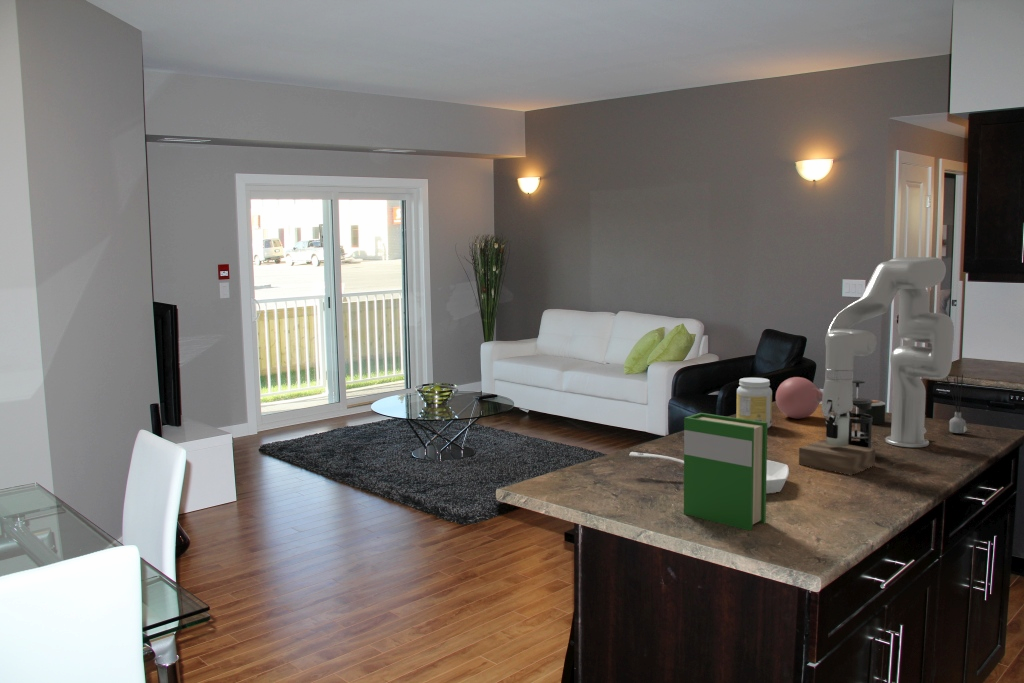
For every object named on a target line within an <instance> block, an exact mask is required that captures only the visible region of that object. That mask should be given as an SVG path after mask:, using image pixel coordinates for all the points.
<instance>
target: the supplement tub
mask: <svg viewBox="0 0 1024 683" xmlns="http://www.w3.org/2000/svg"><path fill="white" fill-rule="evenodd" d="M738 381H739V383H738V385H739V386H738V388H736V413H735V414H736V415H735V416H736V417H735V418H740V419H746V420H753V421H760V422H767V429H769V428H770V427H771V426H772V422H773V421H772V417H773V414H772V413H773V412H772V411H773V409H772V408H773V390H772V388H771V387H770V386H771V383H770V382H771V381H770V379H768V378H764V377H743V378H740V379H739V380H738Z"/></svg>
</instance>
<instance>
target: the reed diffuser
mask: <svg viewBox="0 0 1024 683" xmlns="http://www.w3.org/2000/svg"><path fill="white" fill-rule="evenodd" d="M945 378H946V380H947V383H948V386H949V390H950V393H951V396H952V400H953V403H954V406H955V409H956V411H954V417H952V418H950V420H949V433H954V434H964V433H966V432H967V431H968V428H967V425H966V424H967V422H966V420H965V419H963V417H962V412H961V405H962V404H961V403H962V391H963V381H964V380H963V378H964V374H962V375H961V383H960V384H961V385H960V387H961V388H960V391H959V377H958V375H956V378H953V380H954V393H955V394H953V390H952V388H951V386H950V382H949V381H950V380H949V378H948V376H946V377H945ZM956 382H957V383H956ZM956 384H957V385H956ZM959 393H960V394H959ZM954 396H955V398H954Z"/></svg>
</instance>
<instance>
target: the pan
mask: <svg viewBox="0 0 1024 683" xmlns="http://www.w3.org/2000/svg"><path fill="white" fill-rule="evenodd" d="M628 456H629V457H637V458H638V457H640V458H656V459H664V460H669V461H674V462H675V463H676V462H677V463H681V464H683V465H684V459H679V458H676V457H672V456H667V455H660V454H653V453H647V452H645V453H644V452H643V453H642V452H636V451H631V452H629V455H628ZM789 473H790V468H789V466H788V464H786V463H782V462H778V461H773V460H769V459H767V476H766V495H770V494H769V493H772V494H777V493H776V492H779V493H781V491H782V489H783V487H784V485H785V483H786V481H787V479H788V477H789Z"/></svg>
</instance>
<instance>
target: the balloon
mask: <svg viewBox="0 0 1024 683" xmlns="http://www.w3.org/2000/svg"><path fill="white" fill-rule="evenodd" d="M822 397H823V391H822V390H820V389H819V388H817V386H816V385H815V384H814V383H813V381H811V380H809V379H807V378H805V377H800V376H793V377H789V378H787V379H785V380H784V381H782V382H781V383H780V384H779V386H778V387H777V390H776V391H775V403H776V406H777V408H778V409H779V411H780V412H781V413H782V414H784V415H785V416H787V417H789V418H791V419H796V420H798V419H801V420H802V419H805V418H808V417H810V416H811V415H812V414H814V413H815V412H816V410H817V409H818V407H819V404H820V403H822Z"/></svg>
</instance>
